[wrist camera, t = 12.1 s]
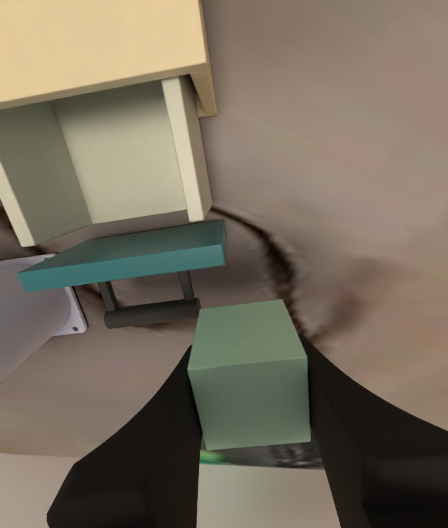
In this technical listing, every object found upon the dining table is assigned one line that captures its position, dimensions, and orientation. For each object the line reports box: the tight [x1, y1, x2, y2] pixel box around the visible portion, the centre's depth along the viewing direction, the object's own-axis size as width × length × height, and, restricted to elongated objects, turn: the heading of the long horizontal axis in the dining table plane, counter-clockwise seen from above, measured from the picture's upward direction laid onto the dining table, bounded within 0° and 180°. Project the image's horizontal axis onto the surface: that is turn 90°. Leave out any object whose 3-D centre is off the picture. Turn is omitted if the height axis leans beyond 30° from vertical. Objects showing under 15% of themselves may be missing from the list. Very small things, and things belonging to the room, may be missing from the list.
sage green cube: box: [187, 299, 310, 450], centre depth 12 cm, size 4×4×4 cm
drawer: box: [0, 74, 226, 329], centre depth 16 cm, size 18×11×7 cm, turn 9°
